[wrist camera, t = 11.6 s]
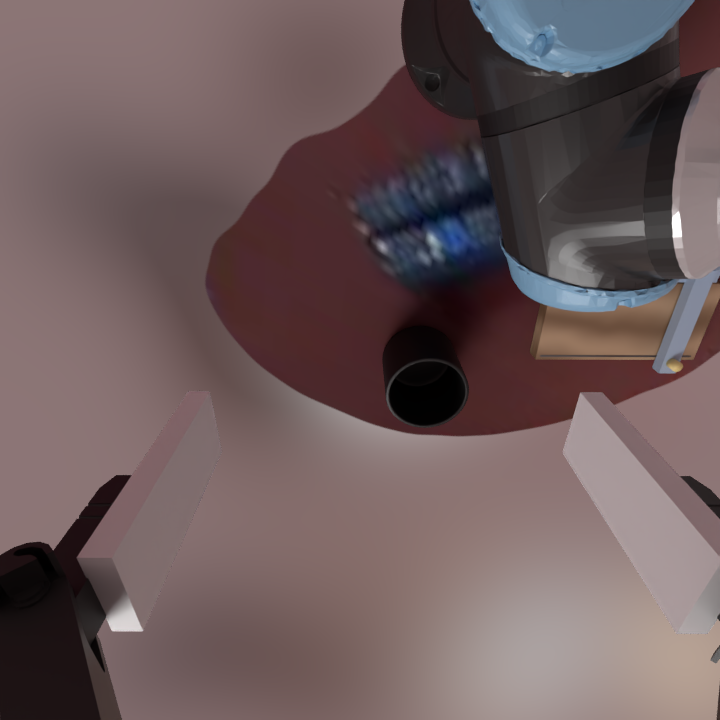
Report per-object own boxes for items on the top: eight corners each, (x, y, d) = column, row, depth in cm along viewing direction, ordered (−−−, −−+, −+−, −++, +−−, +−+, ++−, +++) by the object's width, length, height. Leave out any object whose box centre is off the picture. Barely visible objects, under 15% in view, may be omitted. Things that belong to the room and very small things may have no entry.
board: (546, 277, 50) (552, 283, 49) (713, 278, 50) (726, 283, 49) (529, 352, 55) (535, 359, 53) (682, 352, 55) (693, 360, 53)
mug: (409, 411, 60) (417, 453, 52) (369, 345, 55) (371, 380, 47) (471, 383, 57) (489, 424, 50) (435, 312, 53) (449, 344, 45)
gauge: (680, 214, 47) (773, 238, 36) (725, 214, 47) (831, 238, 36) (630, 359, 56) (693, 412, 45) (667, 359, 56) (739, 412, 45)
